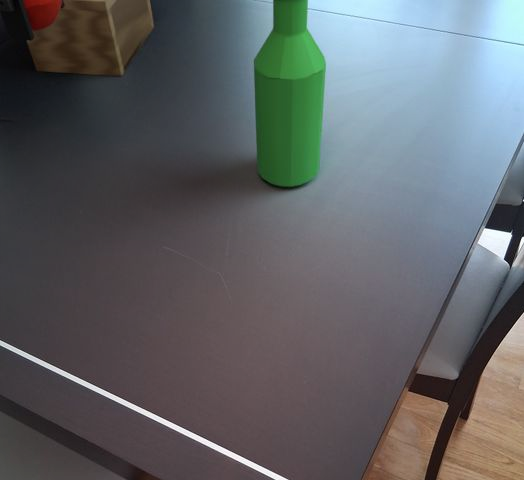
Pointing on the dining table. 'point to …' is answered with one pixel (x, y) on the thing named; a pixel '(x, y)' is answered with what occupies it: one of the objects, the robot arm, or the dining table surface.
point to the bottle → (289, 98)
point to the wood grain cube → (93, 37)
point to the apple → (42, 12)
